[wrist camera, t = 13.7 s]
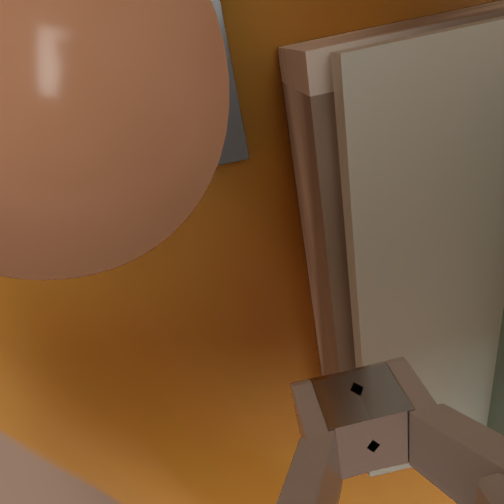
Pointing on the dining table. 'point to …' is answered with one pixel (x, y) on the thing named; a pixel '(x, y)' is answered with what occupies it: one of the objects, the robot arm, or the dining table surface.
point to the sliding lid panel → (427, 209)
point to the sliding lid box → (335, 168)
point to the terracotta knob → (104, 128)
